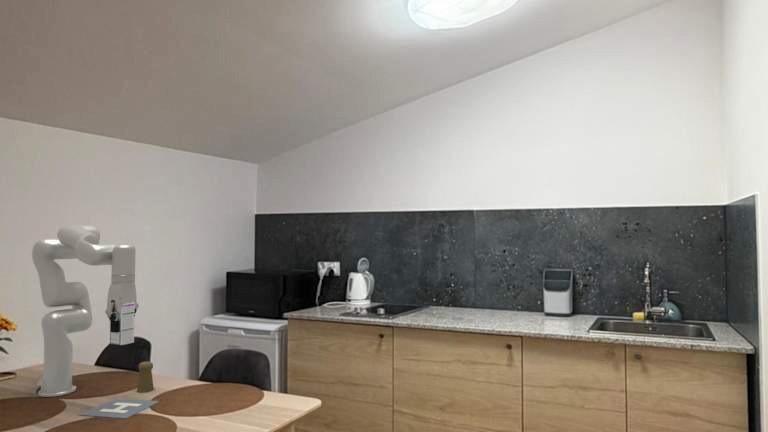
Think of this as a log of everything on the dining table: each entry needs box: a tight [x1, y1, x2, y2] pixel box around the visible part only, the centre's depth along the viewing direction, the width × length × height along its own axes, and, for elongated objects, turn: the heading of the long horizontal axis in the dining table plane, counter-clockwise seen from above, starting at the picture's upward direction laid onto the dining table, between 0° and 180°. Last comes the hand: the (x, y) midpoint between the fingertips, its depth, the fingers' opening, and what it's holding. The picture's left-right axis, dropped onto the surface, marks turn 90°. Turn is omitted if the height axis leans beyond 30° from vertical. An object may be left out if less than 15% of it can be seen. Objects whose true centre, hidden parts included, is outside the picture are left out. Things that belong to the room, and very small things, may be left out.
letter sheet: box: [78, 397, 160, 420], centre depth 182 cm, size 18×18×1 cm
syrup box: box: [109, 302, 135, 346], centre depth 183 cm, size 6×6×14 cm
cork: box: [136, 361, 155, 394], centre depth 203 cm, size 6×6×11 cm
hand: (122, 329), depth 183 cm, fingers closed on syrup box, 6 cm apart
